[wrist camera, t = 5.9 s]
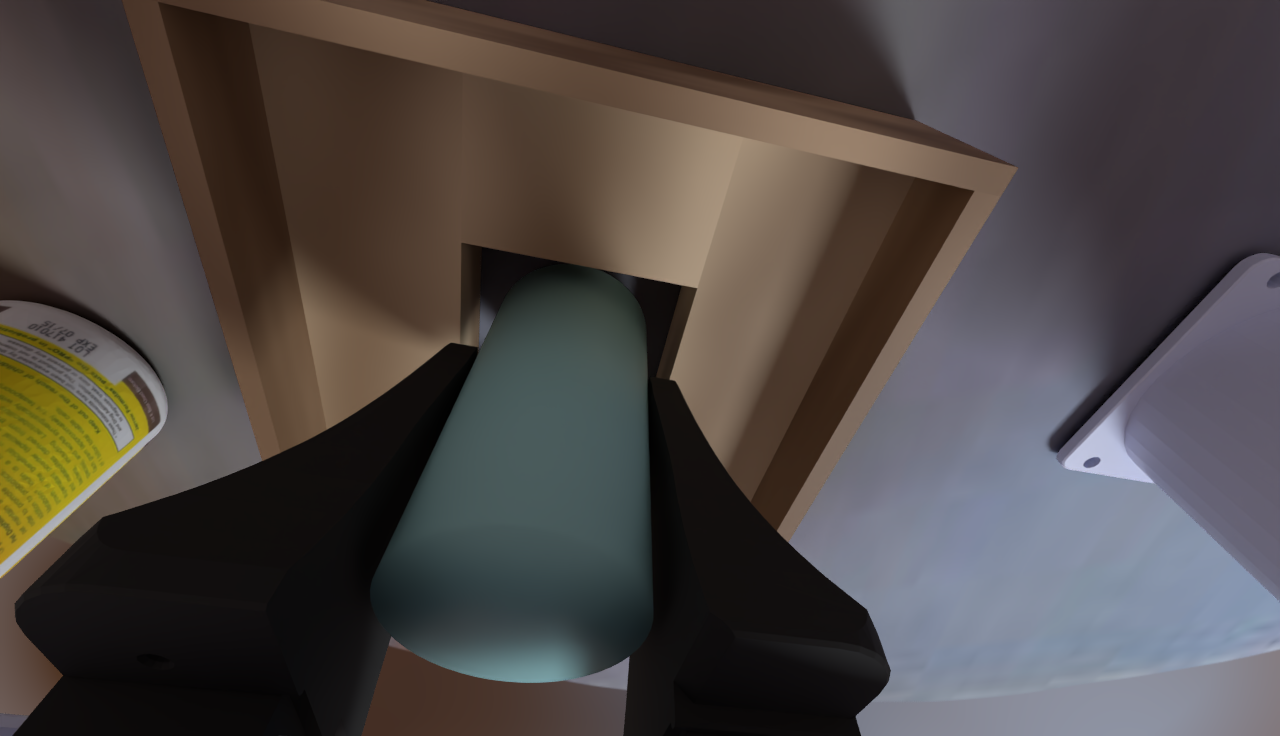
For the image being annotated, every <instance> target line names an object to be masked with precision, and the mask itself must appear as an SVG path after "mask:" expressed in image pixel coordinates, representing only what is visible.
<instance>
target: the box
mask: <svg viewBox="0 0 1280 736" xmlns="http://www.w3.org/2000/svg"><path fill="white" fill-rule="evenodd" d="M122 3H123V6H124V9H125V12H126V16H127V19H128V22H129V26H130V29H131V32H132V35H133V39H134V42H135V45H136V49H137V52H138V55H139V58H140V62H141V65H142V68H143V71H144V75H145V78H146V81H147V85H148V88H149V91H150V94H151V98H152V101H153V104H154V108H155V111H156V114H157V117H158V121H159V124H160V127H161V130H162V134H163V137H164V140H165V144H166V147H167V150H168V153H169V157H170V160H171V163H172V166H173V170H174V173H175V176H176V180H177V183H178V186H179V189H180V193H181V196H182V199H183V203H184V206H185V209H186V212H187V216H188V219H189V222H190V225H191V229H192V232H193V235H194V239H195V242H196V245H197V248H198V252H199V255H200V258H201V262H202V265H203V268H204V271H205V275H206V278H207V281H208V284H209V288H210V291H211V294H212V298H213V301H214V304H215V307H216V311H217V314H218V317H219V320H220V324H221V327H222V330H223V334H224V337H225V340H226V343H227V347H228V350H229V353H230V357H231V360H232V363H233V366H234V370H235V373H236V376H237V379H238V383H239V386H240V389H241V393H242V396H243V399H244V402H245V406H246V409H247V412H248V416H249V419H250V422H251V425H252V429H253V432H254V435H255V438H256V442H257V445H258V448H259V452H260V455H261V458H262V461H264V460H266V459H268V458H270V457H272V456H274V455H276V454H279V453H281V452H283V451H285V450H287V449H289V448H292V447H294V446H296V445H298V444H300V443H302V442H304V441H306V440H308V439H310V438H312V437H314V436H316V435H318V434H320V433H321V432H323V431H325V430H327V429H329V428H331V427H332V426H334V425H336V424H338V423H339V422H341V421H343V420H344V419H346V418H348V417H349V416H351V415H352V414H354V413H356V412H357V411H359V410H360V409H362V408H363V407H365V406H366V405H368V404H369V403H371V402H372V401H374V400H375V399H377V398H378V397H380V396H381V395H383V394H384V393H385V392H387V391H388V390H390V389H391V388H392V387H394V386H395V385H396V384H398V383H399V382H400V381H402V380H403V379H404V378H406V377H407V376H408V375H410V374H411V373H412V372H414V371H415V370H416V369H417V368H419V367H420V366H421V365H423V364H424V363H425V362H426V361H428V360H429V359H430V358H431V357H433V356H434V355H435V354H436V353H437V352H439V351H440V350H441V349H442V348H444V347H445V346H446V345H448V344H449V343H457V344H463V345H469V346H475V347H478V349H479V320H480V290H481V261H482V247H487V248H492V249H497V250H502V251H507V252H513V253H518V254H523V255H528V256H533V257H538V258H544V259H549V260H554V261H559V262H564V263H570V264H575V265H580V266H585V267H590V268H595V269H601V270H606V271H611V272H616V273H621V274H627V275H632V276H637V277H642V278H647V279H652V280H658V281H663V282H668V283H673V284H678V285H682V287H681V290H680V294H679V297H678V301H677V304H676V308H675V311H674V315H673V318H672V322H671V325H670V329H669V332H668V336H667V339H666V343H665V347H664V350H663V354H662V357H661V361H660V364H659V368H658V371H657V375H656V377H657V378H663V379H668V380H674V381H676V383H677V384H678V386H679V388H680V390H681V392H682V394H683V396H684V399H685V401H686V403H687V405H688V407H689V408H690V410H691V412H692V414H693V416H694V418H695V420H696V422H697V424H698V425H699V427H700V429H701V431H702V432H703V434H704V436H705V437H706V439H707V441H708V443H709V444H710V446H711V448H712V449H713V451H714V452H715V454H716V456H717V457H718V459H719V460H720V462H721V463H722V465H723V466H724V468H725V469H726V471H727V472H728V474H729V475H730V476H731V478H732V479H733V481H734V482H735V483H736V485H737V486H738V487H739V488H740V490H741V491H742V492H743V493H744V495H745V496H746V497H747V498H748V500H749V501H750V502H751V503H752V505H753V506H754V507H755V508H756V509H757V510H758V511H759V513H760V514H761V515H762V516H763V517H764V518H765V519H766V520H767V521H768V522H769V523H770V524H771V526H772V527H773V528H774V529H775V530H776V531H777V532H778V533H779V534H780V535H781V536H782V537H783V538H784V539H785V540H786V541H787V542H789V540H790V539H791V537H792V535H793V534H794V532H795V531H796V529H797V527H798V526H799V524H800V522H801V521H802V519H803V518H804V516H805V514H806V513H807V511H808V509H809V508H810V506H811V505H812V503H813V501H814V500H815V498H816V496H817V495H818V493H819V491H820V490H821V488H822V487H823V485H824V483H825V482H826V480H827V478H828V477H829V475H830V474H831V472H832V470H833V469H834V467H835V465H836V464H837V462H838V461H839V459H840V457H841V456H842V454H843V452H844V451H845V449H846V448H847V446H848V444H849V443H850V441H851V439H852V438H853V436H854V435H855V433H856V431H857V430H858V428H859V426H860V425H861V423H862V422H863V420H864V418H865V417H866V415H867V413H868V412H869V410H870V408H871V407H872V405H873V404H874V402H875V400H876V399H877V397H878V395H879V394H880V392H881V391H882V389H883V387H884V386H885V384H886V382H887V381H888V379H889V378H890V376H891V374H892V373H893V371H894V369H895V368H896V366H897V365H898V363H899V361H900V360H901V358H902V356H903V355H904V353H905V352H906V350H907V348H908V347H909V345H910V343H911V342H912V340H913V339H914V337H915V335H916V334H917V332H918V330H919V329H920V327H921V325H922V324H923V322H924V321H925V319H926V317H927V316H928V314H929V312H930V311H931V309H932V308H933V306H934V304H935V303H936V301H937V299H938V298H939V296H940V295H941V293H942V291H943V290H944V288H945V286H946V285H947V283H948V282H949V280H950V278H951V277H952V275H953V273H954V272H955V270H956V269H957V267H958V265H959V264H960V262H961V260H962V259H963V257H964V256H965V254H966V252H967V251H968V249H969V247H970V246H971V244H972V242H973V241H974V239H975V238H976V236H977V234H978V233H979V231H980V229H981V228H982V226H983V225H984V223H985V221H986V220H987V218H988V216H989V215H990V213H991V212H992V210H993V208H994V207H995V205H996V203H997V202H998V200H999V199H1000V197H1001V195H1002V194H1003V192H1004V190H1005V189H1006V187H1007V186H1008V184H1009V182H1010V181H1011V179H1012V177H1013V176H1014V174H1015V173H1016V171H1017V169H1018V167H1016V166H1014V165H1011V164H1009V163H1007V162H1005V161H1003V160H1001V159H998V158H996V157H994V156H992V155H990V154H988V153H985V152H983V151H981V150H979V149H977V148H975V147H972V146H970V145H968V144H966V143H964V142H962V141H959V140H957V139H955V138H953V137H951V136H949V135H946V134H944V133H942V132H940V131H938V130H936V129H933V128H931V127H929V126H927V125H925V124H923V123H920V122H918V121H916V120H911V119H907V118H903V117H899V116H895V115H891V114H887V113H883V112H879V111H875V110H871V109H867V108H863V107H859V106H854V105H850V104H846V103H842V102H838V101H834V100H830V99H826V98H822V97H818V96H814V95H810V94H806V93H801V92H797V91H793V90H789V89H785V88H781V87H777V86H773V85H769V84H765V83H761V82H757V81H753V80H749V79H744V78H740V77H736V76H732V75H728V74H724V73H720V72H716V71H712V70H708V69H704V68H700V67H696V66H691V65H687V64H683V63H679V62H675V61H671V60H667V59H663V58H659V57H655V56H651V55H647V54H643V53H639V52H634V51H630V50H626V49H622V48H618V47H614V46H610V45H606V44H602V43H598V42H594V41H590V40H586V39H582V38H577V37H573V36H569V35H565V34H561V33H557V32H553V31H549V30H545V29H541V28H537V27H533V26H529V25H524V24H520V23H516V22H512V21H508V20H504V19H500V18H496V17H492V16H488V15H484V14H480V13H476V12H472V11H467V10H463V9H459V8H455V7H451V6H447V5H443V4H439V3H435V2H431V1H427V0H122Z"/></svg>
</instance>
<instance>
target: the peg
mask: <svg viewBox="0 0 1280 736" xmlns="http://www.w3.org/2000/svg"><path fill="white" fill-rule="evenodd" d="M370 599H371V604H372V607H373V611H374V613H375V615H376V617H377V619H378V620H379V622H380V623H381V625H382V626H383V627H384V629H385V630H386V631H387V632H388V633H389V634H390V635H391V636H392V637H393V638H394V639H395V640H396V641H398V642H399V643H400V644H401V645H403V646H404V647H405V648H407V649H408V650H410V651H412V652H413V653H415V654H416V655H418V656H420V657H422V658H424V659H426V660H428V661H430V662H432V663H434V664H437V665H439V666H442V667H444V668H447V669H450V670H453V671H456V672H459V673H463V674H467V675H471V676H475V677H480V678H485V679H491V680H499V681H507V682H524V683H532V682H533V683H536V682H537V683H538V682H553V681H562V680H569V679H574V678H579V677H583V676H587V675H590V674H594V673H597V672H600V671H602V670H605V669H607V668H610V667H612V666H614V665H616V664H617V663H619V662H621V661H623V660H624V659H626V658H627V657H629V656H630V655H631V654H633V653H634V652H635V651H636V650H637V649H638V648H639V647H640V646H641V645H642V643H643V642H644V641H645V640H646V638H647V636H648V634H649V632H650V630H651V627H652V623H653V610H654V609H653V570H652V531H651V492H650V452H649V413H648V374H647V335H646V323H645V318H644V315H643V311H642V309H641V307H640V305H639V303H638V302H637V300H636V299H635V297H634V295H633V294H632V293H631V292H630V291H629V290H628V289H627V288H626V287H625V286H624V285H623V284H622V283H621V282H620V281H618V280H617V279H615V278H614V277H612V276H611V275H609V274H607V273H605V272H603V271H600V270H598V269H595V268H590V267H585V266H580V265H575V264H557V265H550V266H546V267H543V268H540V269H537V270H535V271H532V272H531V273H529V274H527V275H525V276H524V277H522V278H521V279H520V280H519V281H517V282H516V283H515V284H514V285H513V287H512V288H511V289H510V290H509V292H508V293H507V294H506V296H505V298H504V300H503V302H502V304H501V306H500V309H499V311H498V313H497V315H496V317H495V319H494V321H493V323H492V326H491V328H490V330H489V332H488V334H487V336H486V338H485V340H484V343H483V345H482V347H481V349H480V351H479V353H478V355H477V357H476V360H475V362H474V364H473V366H472V368H471V370H470V372H469V374H468V377H467V379H466V381H465V383H464V385H463V387H462V389H461V391H460V394H459V396H458V398H457V400H456V402H455V404H454V406H453V408H452V411H451V413H450V415H449V417H448V419H447V421H446V423H445V426H444V428H443V430H442V432H441V434H440V436H439V438H438V440H437V443H436V445H435V447H434V449H433V451H432V453H431V455H430V457H429V460H428V462H427V464H426V466H425V468H424V470H423V472H422V474H421V477H420V479H419V481H418V483H417V485H416V487H415V489H414V491H413V494H412V496H411V498H410V500H409V502H408V504H407V506H406V508H405V511H404V513H403V515H402V517H401V519H400V521H399V523H398V525H397V528H396V530H395V532H394V534H393V536H392V538H391V540H390V543H389V545H388V547H387V549H386V551H385V553H384V555H383V557H382V560H381V562H380V564H379V566H378V568H377V570H376V572H375V574H374V577H373V579H372V583H371V588H370Z"/></svg>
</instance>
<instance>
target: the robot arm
mask: <svg viewBox="0 0 1280 736" xmlns="http://www.w3.org/2000/svg"><path fill="white" fill-rule="evenodd" d="M477 355H478V347H475V346H469V345H463V344H457V343H449V344H448V345H446V346H445V347H444V348H442V349H441V350H440V351H439V352H437V353H436V354H435V355H434V356H433V357H431V358H430V359H429V360H428V361H426V362H425V363H424V364H423V365H421V366H420V367H419V368H417V369H416V370H415V371H414V372H412V373H411V374H410V375H408V376H407V377H406V378H404V379H403V380H402V381H400V382H399V383H398V384H396V385H395V386H394V387H392V388H391V389H390V390H388V391H387V392H385V393H384V394H383V395H381V396H380V397H378V398H377V399H375V400H374V401H372V402H371V403H369V404H368V405H366V406H365V407H363V408H362V409H360V410H359V411H357V412H356V413H354V414H352V415H351V416H349V417H348V418H346V419H344V420H343V421H341V422H339V423H338V424H336V425H334V426H332V427H331V428H329V429H327V430H325V431H323V432H321V433H320V434H318V435H316V436H314V437H312V438H310V439H308V440H306V441H304V442H302V443H300V444H298V445H296V446H294V447H292V448H289V449H287V450H285V451H283V452H281V453H279V454H276V455H274V456H272V457H270V458H268V459H266V460H264V461H261V462H259V463H257V464H255V465H252V466H250V467H247V468H245V469H242V470H240V471H237V472H235V473H232V474H230V475H228V476H225V477H222V478H220V479H217V480H214V481H212V482H209V483H206V484H204V485H201V486H198V487H196V488H193V489H190V490H187V491H184V492H181V493H178V494H175V495H172V496H169V497H166V498H163V499H160V500H157V501H153V502H150V503H147V504H144V505H141V506H138V507H135V508H131V509H128V510H125V511H122V512H119V513H115V514H112V515H109V516H105V517H103V518H102V519H100V520H99V521H98V522H97V523H96V524H95V525H94V526H93V527H91V528H90V529H89V530H88V531H87V532H86V533H85V534H84V535H83V536H82V537H80V538H79V539H78V540H77V541H76V542H75V543H74V544H73V545H72V546H71V547H70V548H69V549H68V550H67V551H66V552H65V553H64V554H63V555H62V556H61V557H60V558H59V559H58V560H57V561H56V562H55V563H54V564H53V565H52V566H51V567H50V568H49V569H48V570H47V571H46V572H45V573H44V574H43V575H42V576H41V577H40V578H38V580H36V581H35V582H34V583H33V584H32V585H31V586H30V587H29V588H28V589H27V590H26V591H25V592H24V593H23V594H22V596H21V597H20V598H19V599H18V600H17V601H16V603H15V617H16V622H17V624H18V625H19V627H20V628H21V630H22V631H23V633H24V634H25V635H26V636H27V638H28V639H29V640H30V641H31V642H32V643H33V644H34V645H35V646H36V647H37V648H38V649H39V650H40V651H41V652H42V653H43V654H44V656H46V658H47V659H48V660H49V661H50V662H51V663H52V664H53V665H54V666H55V667H56V668H57V669H58V670H59V671H60V672H61V673H62V675H63V677H62V678H61V679H60V680H59V681H58V682H57V684H56V685H55V686H54V687H53V688H52V689H51V691H50V692H49V693H48V694H47V695H46V697H45V698H44V699H43V700H42V701H41V702H40V704H39V705H38V706H37V707H36V708H35V710H34V711H33V712H32V713H31V714H30V715H29V716H27V715H15V714H2V713H0V736H361V735H362V732H363V728H364V725H365V721H366V718H367V714H368V711H369V708H370V704H371V701H372V697H373V694H374V690H375V687H376V683H377V680H378V677H379V674H380V671H381V667H382V664H383V661H384V658H385V654H386V651H387V648H388V645H389V641H390V638H391V635H390V634H389V633H388V632H387V631H386V630H385V629H384V627H383V626H382V625H381V623H380V622H379V620H378V619H377V617H376V615H375V613H374V611H373V607H372V604H371V599H370V588H371V583H372V579H373V577H374V574H375V572H376V570H377V568H378V566H379V564H380V562H381V560H382V557H383V555H384V553H385V551H386V549H387V547H388V545H389V543H390V540H391V538H392V536H393V534H394V532H395V530H396V528H397V525H398V523H399V521H400V519H401V517H402V515H403V513H404V511H405V508H406V506H407V504H408V502H409V500H410V498H411V496H412V494H413V491H414V489H415V487H416V485H417V483H418V481H419V479H420V477H421V474H422V472H423V470H424V468H425V466H426V464H427V462H428V460H429V457H430V455H431V453H432V451H433V449H434V447H435V445H436V443H437V440H438V438H439V436H440V434H441V432H442V430H443V428H444V426H445V423H446V421H447V419H448V417H449V415H450V413H451V411H452V408H453V406H454V404H455V402H456V400H457V398H458V396H459V394H460V391H461V389H462V387H463V385H464V383H465V381H466V379H467V377H468V374H469V372H470V370H471V368H472V366H473V364H474V362H475V360H476V357H477ZM648 413H649V452H650V492H651V531H652V570H653V609H654V610H653V623H652V627H651V630H650V632H649V634H648V636H647V638H646V640H645V641H644V642H643V643H642V645H641V646H640V647H639V648H638V649H637V650H636V651H635V652H634V653H633V654H631V655H630V659H629V672H628V686H627V700H626V712H625V724H624V735H623V736H861V734H860V731H859V727H858V724H857V720H856V717H855V716H856V715H857V714H858V713H859V712H860V711H861V710H863V709H864V708H865V707H866V706H867V705H868V704H869V703H870V702H871V701H872V700H873V699H874V698H876V697H877V696H878V695H879V694H880V692H881V691H882V690H883V689H884V687H885V686H886V684H887V683H888V681H889V677H890V672H891V670H890V667H889V665H888V662H887V659H886V656H885V654H884V651H883V648H882V645H881V642H880V639H879V636H878V634H877V631H876V629H875V627H874V625H873V622H872V620H871V618H870V616H869V613H868V611H867V609H865V608H864V607H863V606H862V605H860V604H859V603H858V602H857V601H855V600H854V599H853V598H852V597H850V596H849V595H848V594H847V593H845V592H844V591H843V590H842V589H840V588H839V587H838V586H836V585H835V584H834V583H833V582H831V581H830V580H829V579H828V578H826V577H825V576H824V575H823V574H822V573H821V572H819V571H818V570H817V569H816V568H815V567H814V566H813V565H812V564H811V563H809V562H808V561H807V560H806V559H805V558H804V557H803V556H802V555H801V554H799V553H798V552H797V551H796V550H795V549H794V548H793V547H792V546H791V545H790V544H789V543H788V542H787V541H786V540H785V539H784V538H783V537H782V536H781V535H780V534H779V533H778V532H777V531H776V530H775V529H774V528H773V527H772V526H771V524H770V523H769V522H768V521H767V520H766V519H765V518H764V517H763V516H762V515H761V514H760V513H759V511H758V510H757V509H756V508H755V507H754V506H753V505H752V503H751V502H750V501H749V500H748V498H747V497H746V496H745V495H744V493H743V492H742V491H741V490H740V488H739V487H738V486H737V485H736V483H735V482H734V481H733V479H732V478H731V476H730V475H729V474H728V472H727V471H726V469H725V468H724V466H723V465H722V463H721V462H720V460H719V459H718V457H717V456H716V454H715V452H714V451H713V449H712V448H711V446H710V444H709V443H708V441H707V439H706V437H705V436H704V434H703V432H702V431H701V429H700V427H699V425H698V424H697V422H696V420H695V418H694V416H693V414H692V412H691V410H690V408H689V407H688V405H687V403H686V401H685V399H684V396H683V394H682V392H681V390H680V388H679V386H678V384H677V383H676V381H674V380H668V379H663V378H657V377H651V376H650V379H649V383H648ZM1056 459H1057V460H1058V462H1059V463H1060V464H1061V465H1062V466H1063V467H1064V468H1066V469H1069V470H1075V471H1081V472H1087V473H1093V474H1100V475H1106V476H1112V477H1118V478H1124V479H1130V480H1136V481H1142V482H1148V483H1154V484H1156V485H1157V486H1158V487H1159V488H1161V489H1162V490H1163V491H1164V492H1165V493H1166V494H1167V495H1168V496H1169V497H1170V498H1171V499H1172V500H1173V501H1174V502H1175V503H1176V504H1177V505H1178V506H1179V507H1180V508H1182V509H1183V510H1184V511H1185V512H1186V513H1187V514H1188V515H1189V516H1190V517H1191V518H1192V519H1193V520H1194V521H1195V522H1196V523H1197V524H1198V525H1199V526H1200V527H1201V528H1203V529H1204V530H1205V531H1206V532H1207V533H1208V534H1209V535H1210V536H1211V537H1212V538H1213V539H1214V540H1215V541H1216V542H1217V543H1218V544H1219V545H1220V546H1221V547H1222V548H1223V549H1225V550H1226V551H1227V552H1228V553H1229V554H1230V555H1231V556H1232V557H1233V558H1234V559H1235V560H1236V561H1237V562H1238V563H1239V564H1240V565H1241V566H1242V567H1243V568H1244V569H1246V570H1247V571H1248V572H1249V573H1250V574H1251V575H1252V576H1253V577H1254V578H1255V579H1256V580H1257V581H1258V582H1259V583H1260V584H1261V585H1262V586H1263V587H1264V588H1265V589H1267V590H1268V591H1269V592H1270V593H1271V594H1272V595H1273V596H1274V597H1275V598H1276V599H1277V600H1278V601H1279V602H1280V256H1277V255H1273V254H1269V253H1258V254H1255V255H1252V256H1249V257H1247V258H1245V259H1243V260H1242V261H1240V262H1239V263H1238V264H1237V265H1236V266H1234V267H1233V269H1232V270H1231V271H1230V272H1229V273H1228V274H1227V275H1226V276H1225V277H1224V278H1223V279H1222V280H1221V281H1220V282H1219V283H1218V284H1217V285H1216V286H1215V287H1214V289H1213V290H1212V291H1211V292H1210V293H1209V294H1208V295H1207V296H1206V297H1205V298H1204V299H1203V300H1202V301H1201V302H1200V303H1199V304H1198V305H1197V306H1196V307H1195V308H1194V310H1193V311H1192V312H1191V313H1190V314H1189V315H1188V316H1187V317H1186V318H1185V319H1184V320H1183V321H1182V322H1181V323H1180V324H1179V325H1178V326H1177V327H1176V328H1175V329H1174V331H1173V332H1172V333H1171V334H1170V335H1169V336H1168V337H1167V338H1166V339H1165V340H1164V341H1163V342H1162V343H1161V344H1160V345H1159V346H1158V347H1157V348H1156V349H1155V351H1154V352H1153V353H1152V354H1151V355H1150V356H1149V357H1148V358H1147V359H1146V360H1145V361H1144V362H1143V363H1142V364H1141V365H1140V366H1139V367H1138V368H1137V369H1136V370H1135V372H1134V373H1133V374H1132V375H1131V376H1130V377H1129V378H1128V379H1127V380H1126V381H1125V382H1124V383H1123V384H1122V385H1121V386H1120V387H1119V388H1118V389H1117V390H1116V391H1115V393H1114V394H1113V395H1112V396H1111V397H1110V398H1109V399H1108V400H1107V401H1106V402H1105V403H1104V404H1103V405H1102V406H1101V407H1100V408H1099V409H1098V410H1097V411H1096V413H1095V414H1094V415H1093V416H1092V417H1091V418H1090V419H1089V420H1088V421H1087V422H1086V423H1085V424H1084V425H1083V426H1082V427H1081V428H1080V429H1079V430H1078V431H1077V432H1076V434H1075V435H1074V436H1073V437H1072V438H1071V439H1070V440H1069V441H1068V442H1067V443H1066V444H1065V445H1064V446H1063V447H1062V448H1061V449H1060V450H1059V452H1058V453H1057V457H1056Z"/></svg>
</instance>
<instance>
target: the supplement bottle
mask: <svg viewBox="0 0 1280 736" xmlns="http://www.w3.org/2000/svg"><path fill="white" fill-rule="evenodd" d="M167 412H168V402H167V397H166V393H165V390H164V388H163V386H162V384H161V382H160V380H159V378H158V376H157V375H156V373H155V372H154V370H153V369H152V368H151V366H150V365H149V364H148V363H147V362H146V361H145V360H144V359H143V358H142V357H141V356H140V355H139V354H138V353H137V352H136V351H135V350H134V349H133V348H131V347H130V346H129V345H128V344H126V343H125V342H124V341H122V340H121V339H120V338H118V337H117V336H115V335H114V334H112V333H110V332H109V331H107V330H106V329H104V328H102V327H101V326H99V325H97V324H95V323H93V322H91V321H89V320H87V319H85V318H82V317H80V316H78V315H75V314H73V313H70V312H67V311H64V310H61V309H58V308H55V307H51V306H47V305H44V304H39V303H33V302H26V301H14V300H2V301H0V579H1V578H2V577H3V576H4V575H5V574H6V573H7V572H9V571H10V570H11V569H12V568H13V567H14V566H15V565H16V564H17V563H18V562H20V561H21V560H22V559H23V558H24V557H25V556H26V555H27V554H28V553H29V552H30V551H31V550H32V549H34V547H36V546H37V545H38V544H39V543H40V542H41V541H42V540H43V539H44V538H45V537H47V536H48V535H49V534H50V533H51V532H52V531H53V530H54V529H55V528H57V527H58V526H59V525H60V524H61V523H62V522H63V521H64V520H66V519H67V518H68V517H69V516H70V515H71V514H72V513H73V512H74V511H75V510H76V509H77V508H78V507H79V506H80V505H82V504H83V503H84V502H85V501H86V500H87V499H88V498H89V497H90V496H91V495H92V494H93V493H95V492H96V491H97V490H98V489H99V488H100V487H101V486H102V485H103V484H104V483H105V482H107V481H108V480H109V479H110V478H111V477H112V476H113V475H114V474H115V473H116V472H117V471H119V470H120V469H121V468H122V467H123V466H124V465H125V464H126V463H127V462H128V461H129V460H131V459H132V458H133V457H134V456H135V455H136V454H137V453H138V452H139V451H140V450H141V449H143V448H144V447H145V446H146V445H147V444H148V443H149V442H150V441H151V440H152V439H153V438H154V437H155V436H156V435H157V434H158V433H159V431H160V430H161V428H162V427H163V425H164V423H165V420H166V418H167Z"/></svg>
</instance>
